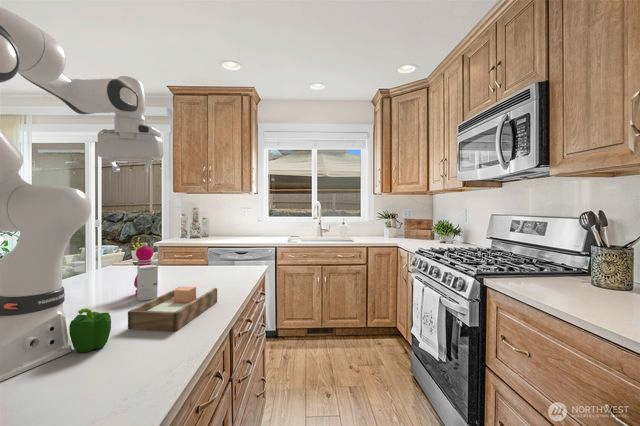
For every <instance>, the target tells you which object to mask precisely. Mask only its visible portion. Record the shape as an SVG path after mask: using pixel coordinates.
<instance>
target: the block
mask: <svg viewBox="0 0 640 426" xmlns="http://www.w3.org/2000/svg"><path fill="white" fill-rule="evenodd" d="M179 287H180V288H179ZM179 287H177V288H178V289H176V288H175V289H176V290H174V289H173V290H174V302H177V303H190V302H191V301H193V300H195V299H196V298H197V286H183V285H182V286H179Z"/></svg>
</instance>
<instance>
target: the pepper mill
mask: <svg viewBox="0 0 640 426" xmlns="http://www.w3.org/2000/svg"><path fill="white" fill-rule="evenodd" d="M153 256H154V250H153V248H152V247H150V246H148V243H147V242H142V243H141V246H140V247H139V248H138V249H137V250H136V252H135V257H136V258H137V264H138V266H146V265H152V263H153V261H152V260H153V259H152V257H153ZM133 285H134V287H135V288H136V290H135V296H137V275H135V278H134V281H133Z"/></svg>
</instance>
